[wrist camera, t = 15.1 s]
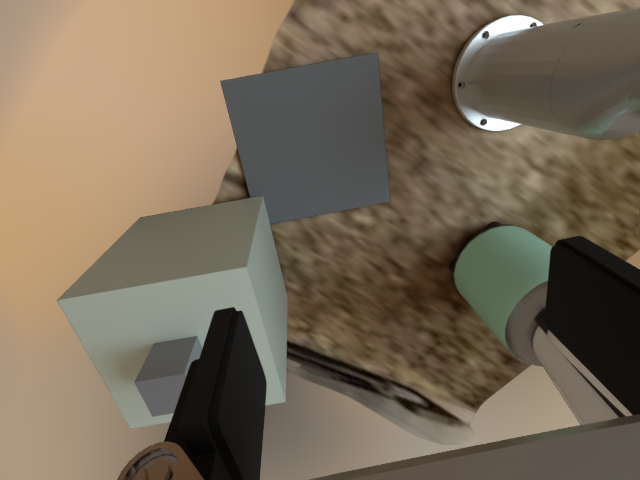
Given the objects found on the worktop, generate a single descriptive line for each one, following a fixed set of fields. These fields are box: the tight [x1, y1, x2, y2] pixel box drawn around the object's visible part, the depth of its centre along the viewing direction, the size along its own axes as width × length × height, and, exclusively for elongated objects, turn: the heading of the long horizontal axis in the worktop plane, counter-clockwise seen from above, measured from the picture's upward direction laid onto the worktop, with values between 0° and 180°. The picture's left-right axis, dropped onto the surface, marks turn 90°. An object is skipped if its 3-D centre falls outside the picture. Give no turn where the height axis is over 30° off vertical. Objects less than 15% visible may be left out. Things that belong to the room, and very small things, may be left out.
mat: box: [220, 52, 390, 224], centre depth 45 cm, size 18×18×1 cm
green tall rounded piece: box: [449, 222, 632, 425], centre depth 39 cm, size 19×13×35 cm
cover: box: [57, 196, 288, 429], centre depth 40 cm, size 16×16×23 cm
